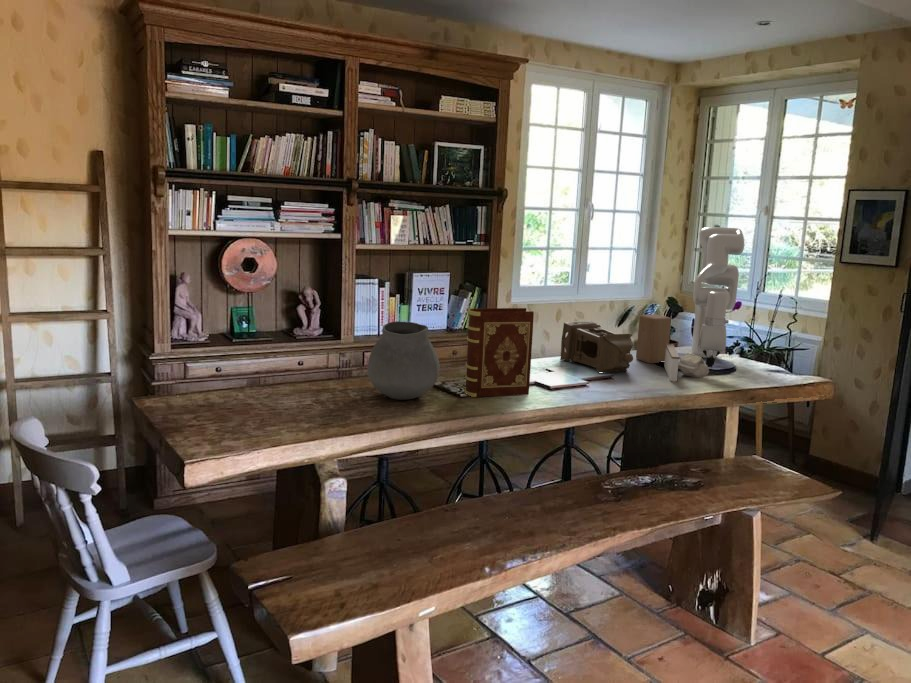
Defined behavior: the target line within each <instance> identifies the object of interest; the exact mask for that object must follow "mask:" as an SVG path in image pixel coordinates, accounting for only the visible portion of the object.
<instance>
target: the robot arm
mask: <svg viewBox="0 0 911 683" xmlns="http://www.w3.org/2000/svg"><path fill="white" fill-rule="evenodd" d="M699 242H700V246H701V250H702V261H701V271H700V272H699V273H698V274H697V275H696V277H695V280H694V284H693V293H692V294H693V296H692V299H693V303H694V304H695V305H694V308H695V309H694V310H695V311H694V321H693V322H694V323H693V331H692V341H691V349H690V350H688V351H687V354H686V355H691V356H698V357H703V358H702V359H705V364H706V365H707V366H708V368H713V366H714V365H715V359H716V358H717V357H718V356H719V355H721V354H722V355H723V354H726V347H727V345H726V344H727V327H726V324H729V322H730V321H729V319H726V312H727V311H730V310H732V309H734V307H735V306H736V302H737V294H738V286H739V284H738V283H739V276H740V275H739V274H740V273H739V269H738V267H737V266H736V265H734V264H729V255H733V256H734V255H735V256H737V255H742V253H743V251H744V250H745V236H744V233H743V231H742V229H741V228H738V227H736V228H735V227H724V226H723V227H721V226H707V227H702V228H701V229H700V231H699ZM702 284H705V285H708V286H706V287H705V286H703V287H702ZM709 285H710V286H722V287H710V286H709ZM725 287H726V288H725Z"/></svg>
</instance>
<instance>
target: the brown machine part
mask: <svg viewBox="0 0 911 683" xmlns="http://www.w3.org/2000/svg"><path fill="white" fill-rule="evenodd" d="M632 336H633V334H632V333H616V332H614V331H611V330H610V329H606V328H603V327H601V325H600V324H598V323H596V322H595V321H593V320H581V321H580V320H578V321H568V322H563V328H562V336H561V341H560V342H561V344H560V361H565V362H566V361H567V362H569V361H571V362H570V363H571V364H572V363H573V364H574V363H580V364H582V365H587V366H590V367H593V368H595V371H597V372H598V373H599V372H608V373H614V372H615V373H616V372H623V371H626V372H627V371H628V369H629V367H630V366H631V365H630V363H632V362H633V360H634V356H633V354H632V353H631V351H632V349H633V347H634V343H633V341H632Z"/></svg>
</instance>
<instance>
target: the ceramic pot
mask: <svg viewBox="0 0 911 683" xmlns="http://www.w3.org/2000/svg"><path fill="white" fill-rule="evenodd" d="M381 332H382V334H381V336H380V338H379V339H378V340H377V342H375V344H374V346H373V348H372V350H371V351H370V355H369V356H368V357H369V358H368V361H367V376H368V379H369V381H370V382H371V384H372V386H373V387H375V389H377V390H378V391H379V392H380V393H382V394H383V395H385V396H386V397H389V398H390V399H393V400H398V401H399V400H400V401H402V400H403V401H405V400H412V399H416V398H418V397H420V396H422V395H424V394H426V393H427V392H428V391H430V390H431V389H432V388H433V387H434V386H435V384H436V383H437V381H438V379H439V375H440V367H441V366H440V360H439V356H438V355H437V352H436V350H435V348H434V345H433V344H432V342H431V340H430V339H429V327H428V326H427V325H426V324H425V325H424V324H419V323H417V322H411V321H399V320H398V321H391V322H387V323H385V324H384V325H383V326H382V330H381Z"/></svg>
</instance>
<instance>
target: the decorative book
mask: <svg viewBox="0 0 911 683" xmlns="http://www.w3.org/2000/svg"><path fill="white" fill-rule="evenodd" d="M534 312H535V311H527V308H526V307H515V308H514V307H511V308H510V307H503V308H502V307H501V308H500V307H498V308H497V307H496V308H495V307H492V308H489V307H488V308H486V307H483V308H481V307H480V308H478V307H477V308H472V307H471V308H470V307H469V308H468V310H467V314H468V324H467V329H468V332H467V336H466V340H467V354H466V355H467V356H466V362H465V368H466V374H465V375H464V378H465V388H464V394H465V393H467V394H468V395H470V396H471V398H477V397H479V398H481V397H482V398H483V397H508V396H526V395H527V396H528V395H529V393H530V381H531V380H530V379H531V368H532V365H531V364H532V349H533V336H534V315H535V314H534ZM470 396H469V397H470Z"/></svg>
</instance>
